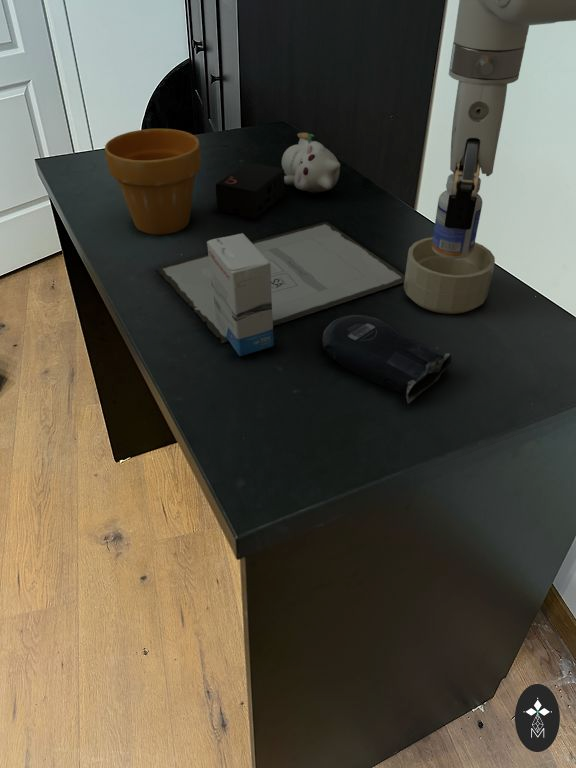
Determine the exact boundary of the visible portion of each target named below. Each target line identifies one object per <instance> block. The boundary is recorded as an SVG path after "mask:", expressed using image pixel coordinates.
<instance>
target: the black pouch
mask: <svg viewBox="0 0 576 768" xmlns="http://www.w3.org/2000/svg"><path fill="white" fill-rule="evenodd" d="M321 341H322V342H321V343H322V347H323V350H324V351H325V353H326V354H327V355H328V356H329V357H330V358H332V360H334V361H336V363H338V364H340V366H341V367H343V368H345V369H347V370H349V371H351V372H352V373H353V372H354V373H355V374H357V375H359V376H361V377H363V378H364V379H366V380H369V381H371V382H372V383H373V382H374V383H375V384H378V385H380V386H383V387H386V388H387V389H390V390H392V391H396V392H398V393H400V394H402V395H404V396H405V398H406V402H407V404H408V405H409V404H410V403H411V402H412V401H414V400H415V399H416V398H417V397H418V396H419V395H420V394H421V393H423V392H424V391H426V390H427V389H428V388H429V387H431V386H432V385H434V384H435V383H436V382H438V381H439V379H440V377H441V375H442V374H443V372H444V371H445V370H446V369H447V368H448V367H449V365H450V364H452V363H453V361H452V358H453V356H452V354H451V353H449V352H446V353H441V352H438V351H435V350H433V349H431V348H429V347H427V346H425V345H423V344H421V343H419V342H418V341H416V340H415V339H412V338H410V337H408V336H406V335H405V334H403V333H402V332H400V331H398V330H396V329H395V328H393V327H392V326H391V325H389V324H388V323H387V322H385V321H383V320H382V319H379V318H378V317H372V316H369V315H362V314H350V315H344V316H341V317H338V318H336V319H334V320H332V321H331V322H330V323H329V324H328V326H326V328H325V329H324V331H323V333H322V339H321Z"/></svg>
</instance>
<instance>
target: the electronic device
mask: <svg viewBox="0 0 576 768" xmlns="http://www.w3.org/2000/svg"><path fill="white" fill-rule="evenodd" d="M284 176H285V172H284V169H283V168H282V167H275V166H269V165H265V164H259V163H254V162H249V161H247V162H246V163H244V164H243V165H240V167H238V168H236V169H235V170H234V171H232V172H230V174H228V175H227V176H225V177H224V178H222V179H221V180H219V181H217V182H216V183H215V196H216V208H217V209H216V210H217V211H218V212H222V213H226V214H232V215H233V214H238V215H239V216H240V217H244V218H248V219H252V220H253V219H254V220H255V219H257V218H258V217H259V216H260V215H262V214H263V213H264V212H265V211H266V210H268V209H269V208H271V207H272V206H273V205H274V204H275V203H277V201H279V200H280V199H281V198H282V197H284V196H285V183H284Z"/></svg>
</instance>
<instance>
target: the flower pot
mask: <svg viewBox="0 0 576 768" xmlns="http://www.w3.org/2000/svg"><path fill="white" fill-rule="evenodd" d="M104 153H105V158H106V163H107V168H108V171H109V175H110V176H112V178H114V179H115V180H116V181H117V183H118V186H119V188H120V190H121V193H122V196H123V199H124V201H125V204H126V206H127V209H128V211H129V214H130V216H131V219H132V221H133V224H134V227H135V228H136V229H137V230H139V232H142V233H145V234H148V235H156V236H157V235H169V234H174V233H177V232H180V231H182V230H184V229H185V228H186V227H187V226H188V225H189V223H190V218H191V212H192V206H193V205H192V204H193V195H194V187H195V178H196V174H197V173H198V172H199V171H200V169H201V166H202V165H201V161H202V159H201V144H200V140H199V138H198V137H197V136H196V135H194V134H193V133H190V132H187V131H185V130H180V129H174V128H173V129H172V128H146V129H138V130H133V131H129V132H125V133H122V134H119V135H117V136H114V137H113V138H111V139H110V140H108V141H107V142H106V144H105V145H104Z"/></svg>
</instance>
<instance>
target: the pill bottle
mask: <svg viewBox="0 0 576 768" xmlns="http://www.w3.org/2000/svg"><path fill="white" fill-rule="evenodd" d="M454 176H455V173H453V172H452V173H450V174H449V175H448V177H447V179H446V180H447V181H446V184H445V188H446V190H444V191H443V192H441V193H440V195H439V196H438V201H437V207H436V213H435V221H434V227H433V232H432V237H433V239H432V249H433V251H434V252H435V253H436V254H438V255H439V256H442V257H445V258H451V259H459V258H465V257H467V256H469V255H470V254H471V253H472V252H473V248H474V244H475V242H476V238H477V234H478V228H479V223H480V218H481V213H482V208H483V198H482V197H481V195H480V194H479V192H480V189H481V183H482V179H481V177H479V178H478V184H477V190H476V196H475V197H477V199H476V205H475V210H474V215H473V220H472V225H471V228H470V229H469V230H465V229H455V228H447V227H445V218H446V212H447V206H448V200H449V195H452V189H453V183H454ZM461 180H462V176H459V181H461ZM459 181H458V182H459Z"/></svg>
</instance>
